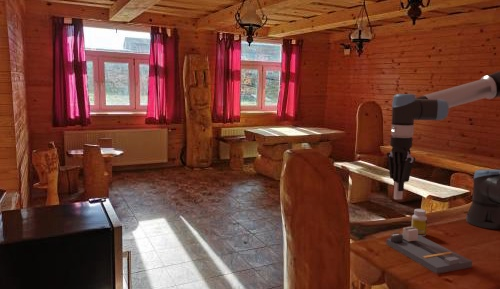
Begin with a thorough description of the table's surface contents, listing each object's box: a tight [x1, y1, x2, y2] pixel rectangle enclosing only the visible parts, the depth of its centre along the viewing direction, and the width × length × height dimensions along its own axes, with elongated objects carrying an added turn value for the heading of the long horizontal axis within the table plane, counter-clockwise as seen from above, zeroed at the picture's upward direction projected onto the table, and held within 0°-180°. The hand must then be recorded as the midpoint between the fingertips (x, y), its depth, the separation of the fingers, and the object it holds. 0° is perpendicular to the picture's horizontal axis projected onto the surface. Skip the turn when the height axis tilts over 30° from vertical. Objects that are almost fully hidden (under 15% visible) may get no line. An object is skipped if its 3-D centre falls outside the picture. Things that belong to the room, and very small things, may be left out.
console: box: [385, 232, 473, 274], centre depth 129 cm, size 14×24×5 cm, turn 18°
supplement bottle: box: [410, 208, 428, 237], centre depth 147 cm, size 5×5×10 cm
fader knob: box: [402, 226, 418, 242], centre depth 137 cm, size 4×3×4 cm
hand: (397, 198), depth 142 cm, fingers closed
